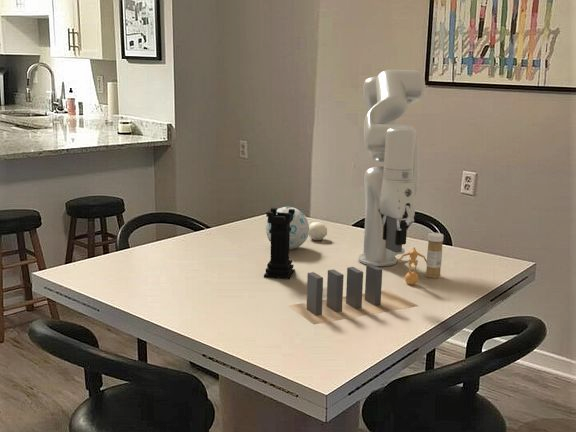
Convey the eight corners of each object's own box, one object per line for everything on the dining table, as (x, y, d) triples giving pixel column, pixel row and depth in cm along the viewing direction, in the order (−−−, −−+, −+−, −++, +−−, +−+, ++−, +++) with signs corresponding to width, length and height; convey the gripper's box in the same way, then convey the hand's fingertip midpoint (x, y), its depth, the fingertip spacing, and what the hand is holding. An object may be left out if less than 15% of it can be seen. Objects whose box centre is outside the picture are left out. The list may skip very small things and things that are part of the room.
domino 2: (332, 305, 173) (333, 269, 171) (342, 311, 169) (343, 274, 167) (326, 306, 172) (327, 270, 170) (336, 312, 168) (337, 275, 166)
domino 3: (351, 302, 176) (353, 266, 174) (361, 308, 171) (363, 271, 169) (345, 303, 175) (347, 267, 173) (355, 309, 171) (357, 272, 168)
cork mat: (388, 291, 186) (388, 289, 186) (418, 307, 174) (418, 305, 174) (288, 306, 172) (288, 305, 172) (313, 325, 160) (313, 324, 160)
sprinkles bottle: (435, 273, 204) (438, 231, 201) (443, 277, 200) (446, 235, 197) (422, 274, 202) (425, 232, 199) (430, 279, 198) (433, 236, 195)
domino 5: (390, 247, 178) (392, 211, 176) (401, 252, 173) (403, 215, 171) (385, 248, 177) (387, 212, 175) (396, 252, 173) (398, 216, 171)
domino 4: (370, 299, 178) (371, 264, 176) (380, 304, 174) (382, 269, 172) (364, 299, 178) (366, 264, 175) (374, 305, 173) (376, 270, 171)
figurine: (425, 283, 193) (428, 244, 191) (426, 290, 188) (428, 250, 185) (397, 281, 195) (399, 243, 192) (396, 288, 189) (399, 248, 186)
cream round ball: (323, 243, 236) (323, 225, 235) (304, 240, 239) (305, 223, 238) (329, 239, 242) (330, 221, 241) (312, 236, 245) (312, 219, 244)
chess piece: (289, 279, 195) (291, 214, 190) (263, 277, 196) (264, 212, 192) (294, 271, 203) (296, 209, 198) (269, 269, 204) (270, 207, 200)
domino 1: (312, 308, 171) (313, 272, 168) (321, 314, 166) (323, 277, 164) (306, 309, 170) (307, 272, 168) (315, 316, 165) (316, 278, 163)
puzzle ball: (258, 251, 224) (258, 209, 220) (276, 241, 237) (276, 201, 234) (299, 257, 218) (300, 213, 215) (314, 246, 232) (316, 205, 228)
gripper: (429, 179, 165) (425, 248, 169) (390, 169, 180) (387, 233, 184) (405, 180, 162) (401, 251, 166) (368, 171, 177) (365, 236, 181)
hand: (394, 241), depth 175 cm, fingers closed on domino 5, 4 cm apart
